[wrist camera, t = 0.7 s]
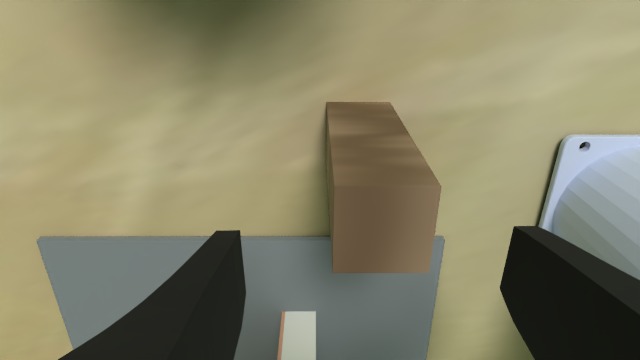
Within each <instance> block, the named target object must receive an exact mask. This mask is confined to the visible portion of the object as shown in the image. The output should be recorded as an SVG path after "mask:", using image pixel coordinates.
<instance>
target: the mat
mask: <svg viewBox="0 0 640 360" xmlns="http://www.w3.org/2000/svg"><path fill="white" fill-rule="evenodd" d="M210 237H211V236H204V237H40V238H39V239H38V240H37V244H38V247H39V250H40V253H41V256H42V259H43V262H44V265H45V268H46V270H47V273H48V276H49V279H50V282H51V285H52V288H53V291H54V294H55V297H56V300H57V303H58V306H59V309H60V312H61V315H62V317H63V320H64V323H65V326H66V329H67V332H68V335H69V338H70V341H71V344H72V347H73V350H74V349H76V348H77V347H79V346H80V345H82V344H83V343H85V342H87V341H88V340H90V339H91V338H93V337H94V336H96V335H98V334H99V333H101V332H102V331H104V330H105V329H106V328H108V327H109V326H111V325H112V324H113V323H115V322H116V321H117V320H119V319H120V318H122V317H123V316H124V315H126V314H127V313H128V312H130V311H131V310H132V309H133V308H135V307H136V306H137V305H139V304H140V303H141V302H142V301H143V300H145V299H146V298H147V297H148V296H149V295H150V294H152V293H153V292H154V291H155V290H156V289H157V288H158V287H159V286H161V285H162V284H163V283H164V282H165V281H166V280H167V279H169V278H170V277H171V276H172V275H173V274H174V273H175V272H176V271H177V270H178V269H179V268H180V267H181V266H182V265H183V264H184V263H185V262H186V261H187V260H188V259H189V258H190V257H191V256H192V255H193V254H194V253H195V252H196V251H197V250H198V249H199V248H200V247H201V246H202V245H203V244H204V243H205V242H206V241H207V240H208V239H209V238H210ZM444 243H445V239H444V237H443V236H434V242H433V248H432V255H431V262H430V269H429V273H333V272H332V255H331V239H330V236H241V246H242V256H243V265H244V275H245V285H246V299H245V307H244V315H243V322H242V328H241V332H240V336H239V340H238V344H237V348H236V352H235V356H234V360H277V356H278V346H279V336H280V326H281V316H282V312H289V311H316V360H426V356H427V350H428V344H429V337H430V331H431V325H432V318H433V312H434V306H435V300H436V293H437V287H438V281H439V274H440V268H441V262H442V255H443V249H444Z"/></svg>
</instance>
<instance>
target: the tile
mask: <svg viewBox="0 0 640 360" xmlns="http://www.w3.org/2000/svg"><path fill="white" fill-rule="evenodd" d="M277 360H316V311H289V312H282V316H281V326H280V336H279V346H278V356H277Z"/></svg>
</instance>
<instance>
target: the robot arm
mask: <svg viewBox="0 0 640 360" xmlns="http://www.w3.org/2000/svg"><path fill="white" fill-rule="evenodd" d="M583 142H586V144H585V146H584V147H583V148H581V149H579V147H580V145H581V144H582V143H583ZM500 290H501V292H502V295H503V298H504V300H505V303H506V305H507V308H508V310H509V313H510V315H511V317H512V319H513V322H514V324H515V325H516V327H517V329H518V331H519V333H520V334H521V336H522V338H523V340H524V341H525V343H526V345H527V347H528V348H529V350H530V352H531V353H532V355H533V357H534V359H535V360H640V135H569V136H567V137H565V138H564V139H563V140H562V142H561V144H560V148H559V152H558V156H557V159H556V163H555V167H554V170H553V174H552V178H551V182H550V185H549V189H548V193H547V197H546V200H545V204H544V208H543V211H542V215H541V219H540V223H539V226H514V228H513V233H512V237H511V241H510V246H509V250H508V254H507V259H506V263H505V267H504V272H503V276H502V281H501V285H500ZM245 299H246V285H245V275H244V265H243V256H242V246H241V236H240V230H237V231H216V232H215V233H214V234H213V235H212V236H211V237H210V238H209V239H208V240H207V241H206V242H205V243H204V244H203V245H202V246H201V247H200V248H199V249H198V250H197V251H196V252H195V253H194V254H193V255H192V256H191V257H190V258H189V259H188V260H187V261H186V262H185V263H184V264H183V265H182V266H181V267H180V268H179V269H178V270H177V271H176V272H175V273H174V274H173V275H172V276H171V277H170V278H169V279H167V280H166V281H165V282H164V283H163V284H162V285H161V286H159V287H158V288H157V289H156V290H155V291H154V292H153V293H152V294H150V295H149V296H148V297H147V298H146V299H145V300H143V301H142V302H141V303H140V304H139V305H137V306H136V307H135V308H133V309H132V310H131V311H130V312H128V313H127V314H126V315H124V316H123V317H122V318H120V319H119V320H117V321H116V322H115V323H113V324H112V325H111V326H109V327H108V328H106V329H105V330H104V331H102V332H101V333H99V334H98V335H96V336H94V337H93V338H91V339H90V340H88V341H87V342H85V343H83V344H82V345H80V346H79V347H77V348H76V349H74V350H72V351H71V352H69V353H68V354H66V355H65V356H63V357H61V358H60V359H58V360H234V356H235V352H236V348H237V344H238V340H239V336H240V332H241V328H242V322H243V315H244V307H245Z"/></svg>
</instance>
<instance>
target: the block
mask: <svg viewBox="0 0 640 360" xmlns="http://www.w3.org/2000/svg"><path fill="white" fill-rule="evenodd" d="M326 171H327V188H328V205H329V222H330V239H331V255H332V272H333V273H429V269H430V262H431V255H432V248H433V242H434V235H435V228H436V221H437V214H438V207H439V200H440V193H441V185H440V183H439V182H438V180H437V179H436V177H435V175H434V174H433V172H432V170H431V169H430V167H429V165H428V164H427V162H426V161H425V159H424V157H423V156H422V154H421V152H420V151H419V149H418V147H417V146H416V144H415V143H414V141H413V139H412V138H411V136H410V134H409V133H408V131H407V129H406V128H405V126H404V125H403V123H402V121H401V120H400V118H399V116H398V115H397V113H396V111H395V110H394V108H393V107H392V105H391V103H390V102H327V110H326Z"/></svg>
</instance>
